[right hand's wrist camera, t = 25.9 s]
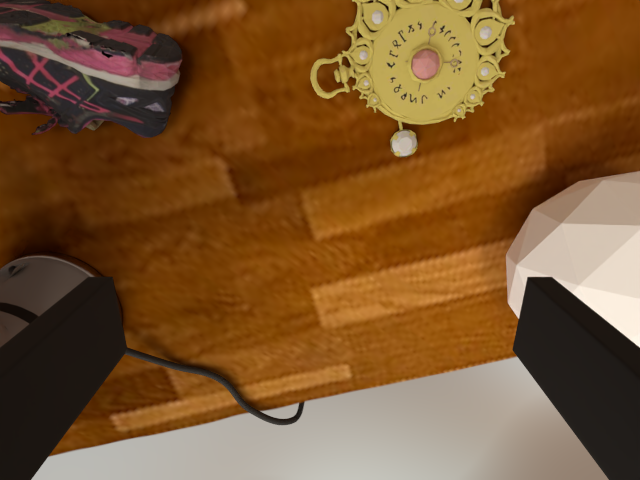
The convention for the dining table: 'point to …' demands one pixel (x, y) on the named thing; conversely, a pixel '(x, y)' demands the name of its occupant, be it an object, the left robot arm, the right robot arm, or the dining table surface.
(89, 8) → the dining table surface
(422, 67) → the decorative object
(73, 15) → the athletic shoe
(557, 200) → the sphere
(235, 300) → the dining table surface
